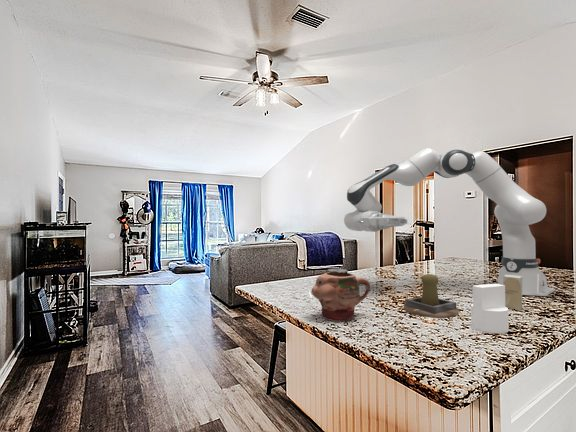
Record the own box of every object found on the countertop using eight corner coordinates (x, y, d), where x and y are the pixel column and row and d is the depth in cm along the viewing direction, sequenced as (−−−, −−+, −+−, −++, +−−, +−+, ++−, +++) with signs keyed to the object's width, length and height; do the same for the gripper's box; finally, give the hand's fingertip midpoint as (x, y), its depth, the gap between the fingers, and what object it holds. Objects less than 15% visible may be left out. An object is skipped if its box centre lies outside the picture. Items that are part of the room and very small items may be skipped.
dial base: (425, 301, 121) (425, 293, 121) (469, 312, 106) (469, 303, 106) (393, 307, 112) (393, 299, 112) (436, 321, 98) (436, 311, 98)
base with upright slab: (491, 335, 86) (490, 290, 86) (463, 324, 94) (463, 283, 94) (516, 331, 88) (516, 287, 88) (487, 321, 97) (487, 281, 97)
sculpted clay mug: (358, 308, 112) (358, 268, 112) (379, 318, 101) (379, 274, 101) (305, 314, 106) (305, 272, 106) (322, 326, 94) (321, 278, 94)
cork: (442, 309, 106) (441, 276, 106) (423, 309, 107) (422, 276, 107) (437, 304, 112) (436, 273, 112) (418, 304, 113) (418, 273, 113)
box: (502, 308, 111) (502, 275, 111) (504, 305, 114) (504, 274, 114) (521, 310, 107) (520, 277, 107) (523, 308, 110) (522, 275, 110)
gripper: (353, 214, 133) (378, 213, 121) (389, 214, 143) (415, 213, 131) (354, 229, 133) (378, 230, 121) (389, 228, 143) (415, 228, 131)
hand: (397, 221), depth 126 cm, fingers open, 8 cm apart
